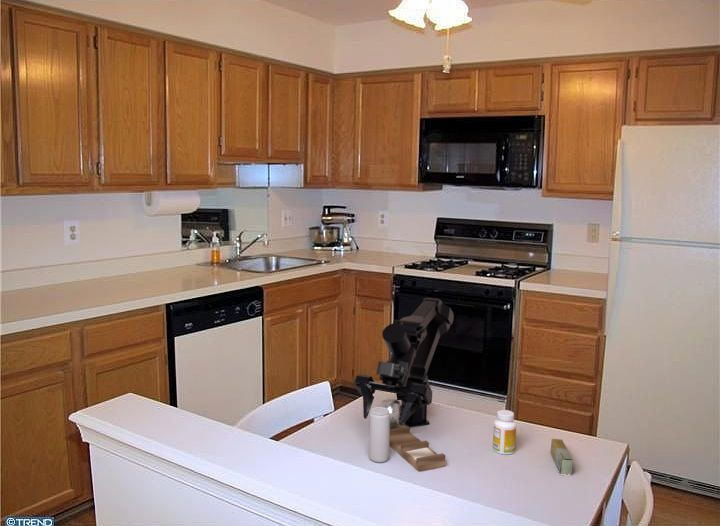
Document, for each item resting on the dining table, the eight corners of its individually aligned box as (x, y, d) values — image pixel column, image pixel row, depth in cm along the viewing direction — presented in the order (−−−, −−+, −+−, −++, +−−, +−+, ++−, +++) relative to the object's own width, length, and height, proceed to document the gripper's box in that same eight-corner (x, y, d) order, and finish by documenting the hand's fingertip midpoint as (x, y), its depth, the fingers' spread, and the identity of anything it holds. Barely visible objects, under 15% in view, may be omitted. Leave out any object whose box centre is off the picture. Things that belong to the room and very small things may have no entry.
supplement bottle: (517, 448, 157) (519, 410, 156) (512, 457, 152) (514, 418, 151) (495, 444, 159) (497, 407, 158) (490, 452, 154) (492, 414, 153)
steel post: (394, 423, 167) (394, 398, 166) (402, 430, 163) (402, 404, 162) (378, 426, 165) (378, 400, 164) (386, 432, 161) (386, 406, 160)
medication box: (572, 477, 143) (573, 460, 142) (559, 476, 143) (561, 459, 143) (560, 453, 155) (562, 438, 154) (549, 453, 155) (550, 437, 155)
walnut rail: (370, 429, 167) (370, 419, 167) (394, 425, 170) (394, 415, 170) (418, 471, 144) (419, 460, 143) (445, 466, 146) (445, 455, 146)
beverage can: (387, 464, 147) (388, 415, 145) (366, 462, 148) (367, 413, 146) (390, 455, 152) (391, 407, 150) (370, 453, 153) (371, 406, 151)
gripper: (357, 342, 156) (336, 399, 148) (429, 352, 149) (412, 412, 140) (369, 365, 165) (350, 420, 156) (438, 375, 157) (422, 433, 149)
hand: (382, 421), depth 150 cm, fingers open, 9 cm apart
